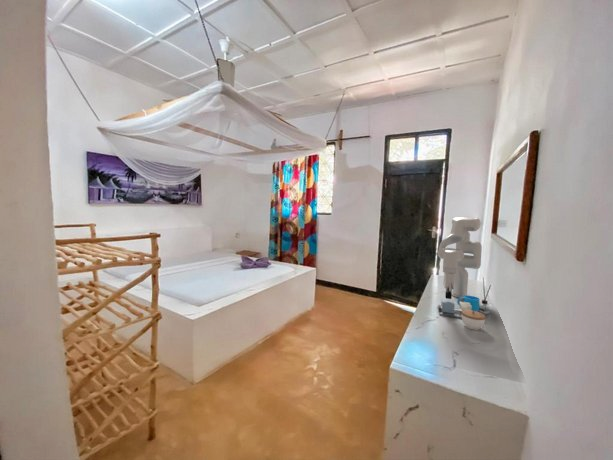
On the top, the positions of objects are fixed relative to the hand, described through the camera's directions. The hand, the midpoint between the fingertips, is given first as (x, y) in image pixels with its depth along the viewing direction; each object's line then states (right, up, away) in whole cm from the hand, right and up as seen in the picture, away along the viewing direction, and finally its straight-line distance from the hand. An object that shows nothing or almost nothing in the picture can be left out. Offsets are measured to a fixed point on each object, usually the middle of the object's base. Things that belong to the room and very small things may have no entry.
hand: (448, 298), depth 153 cm
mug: (+16, -9, +6) cm, 19 cm away
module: (-1, -8, 0) cm, 8 cm away
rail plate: (+3, -9, -1) cm, 10 cm away
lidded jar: (+2, -11, -19) cm, 22 cm away
